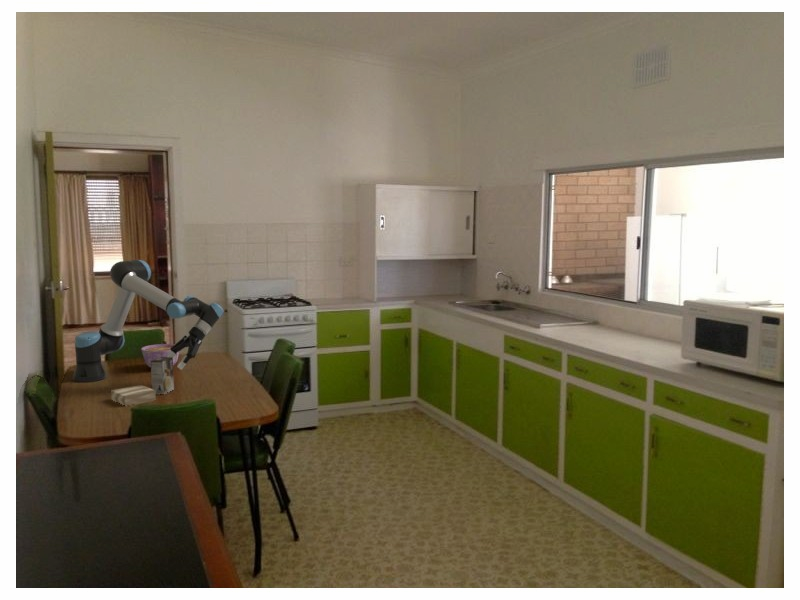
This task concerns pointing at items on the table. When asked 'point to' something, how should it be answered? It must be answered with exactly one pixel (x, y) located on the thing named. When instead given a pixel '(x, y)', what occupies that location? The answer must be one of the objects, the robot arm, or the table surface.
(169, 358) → the coffee box
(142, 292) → the robot arm
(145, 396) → the birch block
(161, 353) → the bowl of food
